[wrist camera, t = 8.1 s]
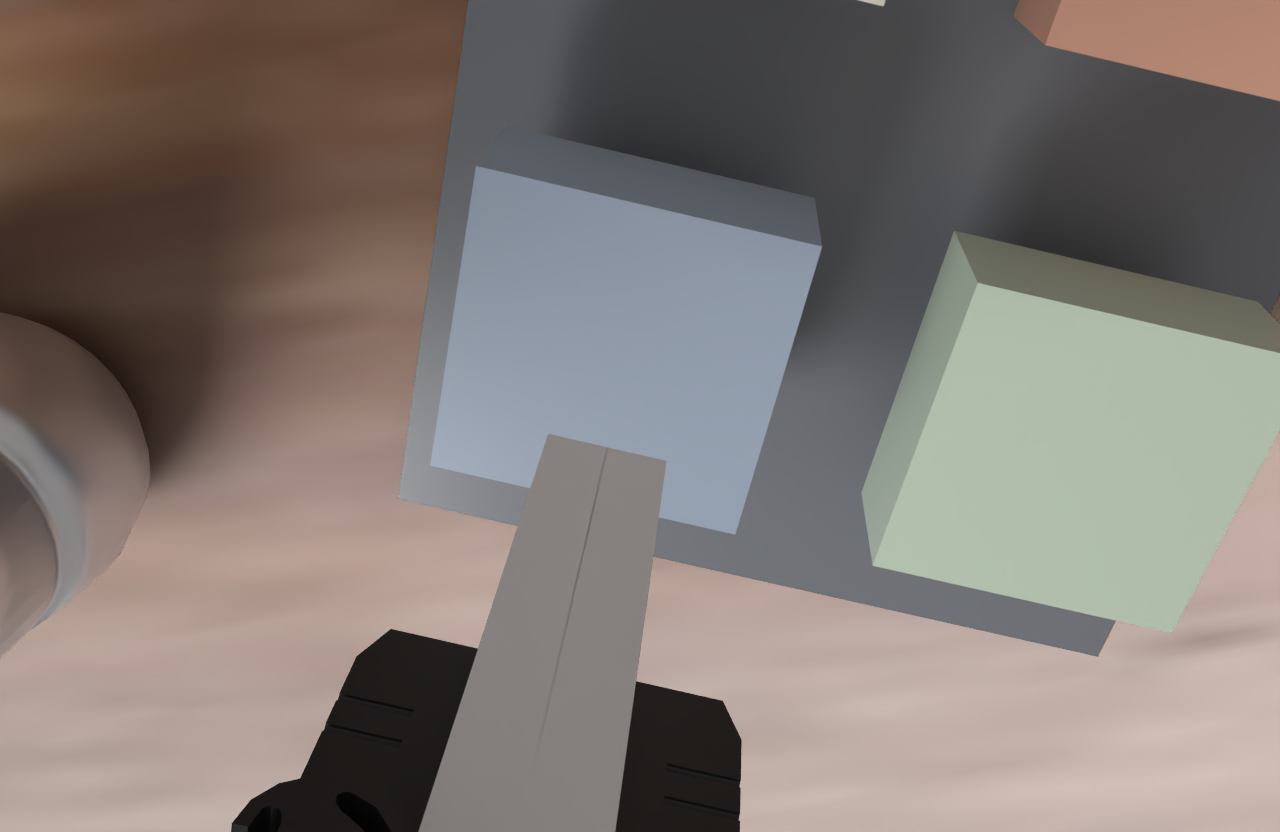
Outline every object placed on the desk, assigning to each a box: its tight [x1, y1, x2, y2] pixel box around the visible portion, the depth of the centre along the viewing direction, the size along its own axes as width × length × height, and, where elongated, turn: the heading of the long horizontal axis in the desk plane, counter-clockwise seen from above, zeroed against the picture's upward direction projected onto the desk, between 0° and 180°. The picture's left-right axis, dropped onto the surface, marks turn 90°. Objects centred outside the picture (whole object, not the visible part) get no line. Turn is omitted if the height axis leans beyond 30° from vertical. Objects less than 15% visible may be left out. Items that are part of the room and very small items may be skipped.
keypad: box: [398, 0, 1280, 657], centre depth 22 cm, size 16×22×3 cm
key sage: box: [861, 231, 1280, 633], centre depth 21 cm, size 6×6×2 cm
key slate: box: [430, 126, 822, 534], centre depth 21 cm, size 6×6×2 cm
